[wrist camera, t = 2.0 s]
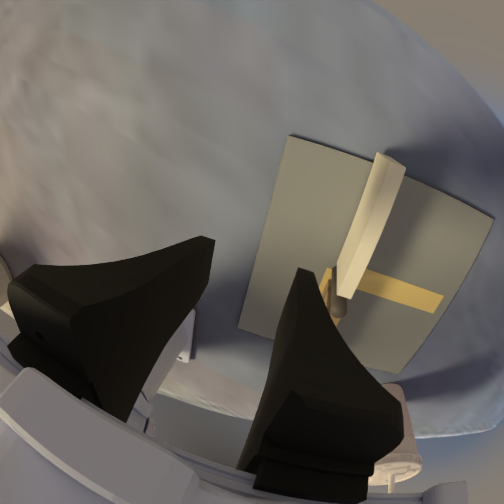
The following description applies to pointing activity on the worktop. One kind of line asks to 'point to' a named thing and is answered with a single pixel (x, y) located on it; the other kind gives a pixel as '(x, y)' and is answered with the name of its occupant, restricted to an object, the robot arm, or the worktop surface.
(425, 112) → the worktop surface
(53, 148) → the worktop surface
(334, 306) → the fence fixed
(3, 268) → the jar
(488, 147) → the worktop surface
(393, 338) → the mat
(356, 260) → the fence panel
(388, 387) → the smoothie
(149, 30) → the worktop surface
